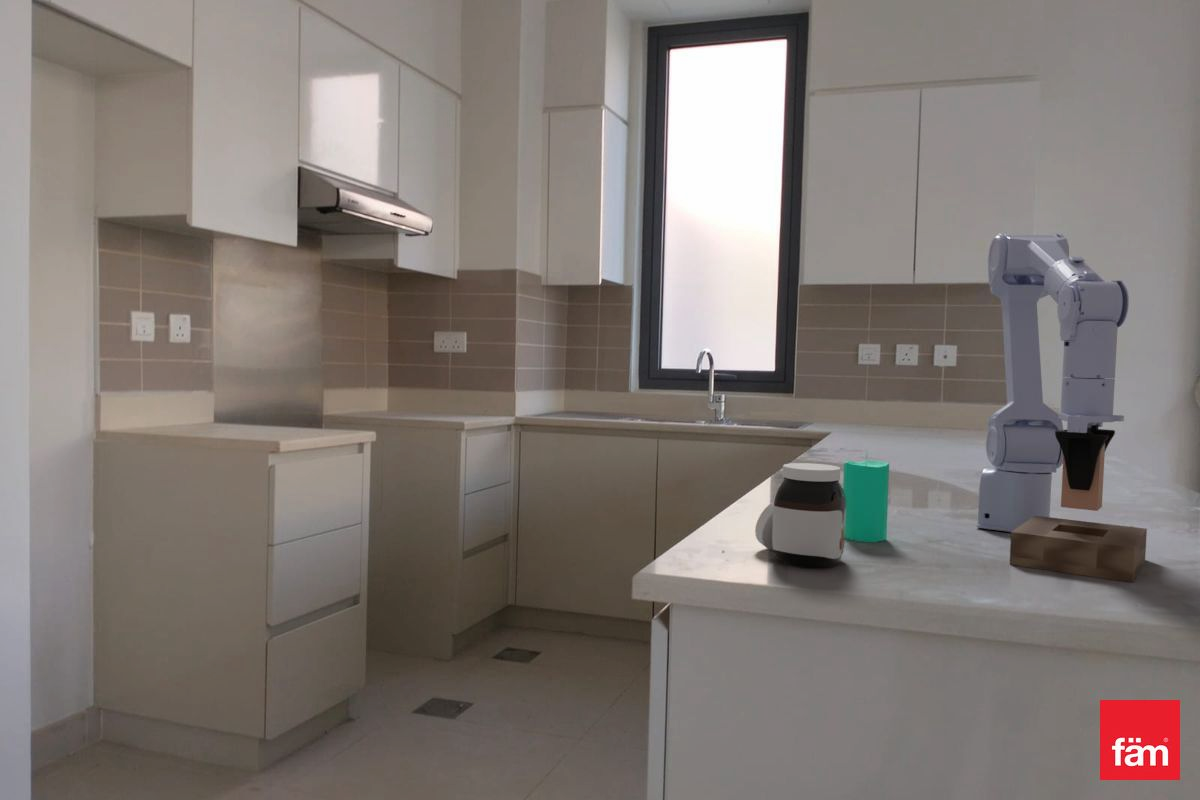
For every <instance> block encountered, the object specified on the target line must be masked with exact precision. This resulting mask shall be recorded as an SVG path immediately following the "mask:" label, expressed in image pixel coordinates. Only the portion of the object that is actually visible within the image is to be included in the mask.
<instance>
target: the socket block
mask: <svg viewBox="0 0 1200 800" xmlns="http://www.w3.org/2000/svg"><path fill="white" fill-rule="evenodd" d="M1147 531H1148V530H1147V528H1145V527H1135V526H1127V525H1118V524H1111V523H1109V524H1108V523H1100V522H1094V521H1092V522H1091V521H1086V520H1085V521H1084V520H1075V519H1066V518H1058V517H1042V516H1034V517H1032V518H1031V519H1029V520H1028V521H1027V522H1025V523H1024V524H1022V525H1021V526H1019V527H1018V528H1016V529H1015V530H1013V531H1012V532H1010V544H1009V545H1010V546H1009V565H1013V566H1019V567H1025V568H1033V569H1039V570H1046V571H1053V572H1057V573H1058V572H1059V573H1066V574H1072V575H1079V576H1087V577H1094V578H1100V579H1107V580H1113V581H1119V582H1120V581H1121V582H1125V583H1133V582H1134V581H1135V579H1136V577H1137V576H1138V574H1139V572H1140V570H1141V569H1142V566H1143V565H1144V563H1145V560H1146V553H1147V535H1148V533H1147Z"/></svg>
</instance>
